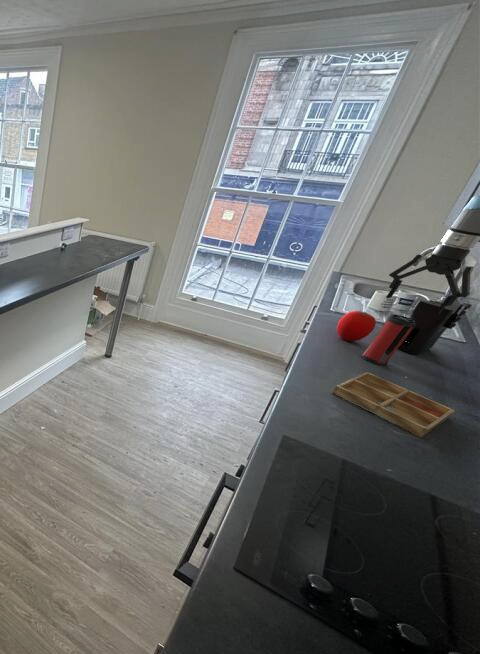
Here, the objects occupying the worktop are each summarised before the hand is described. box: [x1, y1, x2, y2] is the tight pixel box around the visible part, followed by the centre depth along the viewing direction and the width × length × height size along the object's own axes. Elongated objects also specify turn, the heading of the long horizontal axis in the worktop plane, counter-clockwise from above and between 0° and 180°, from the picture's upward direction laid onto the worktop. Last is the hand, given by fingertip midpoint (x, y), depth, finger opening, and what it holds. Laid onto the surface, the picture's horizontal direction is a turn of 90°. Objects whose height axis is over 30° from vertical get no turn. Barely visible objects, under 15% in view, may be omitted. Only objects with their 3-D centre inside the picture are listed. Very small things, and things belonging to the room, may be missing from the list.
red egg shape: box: [336, 310, 377, 342], centre depth 165 cm, size 11×11×13 cm
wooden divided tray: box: [331, 371, 456, 439], centre depth 126 cm, size 22×22×3 cm
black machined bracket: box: [397, 299, 473, 356], centre depth 161 cm, size 12×21×22 cm, turn 119°
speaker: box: [360, 314, 416, 366], centre depth 149 cm, size 8×8×18 cm
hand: (412, 305), depth 142 cm, fingers open, 13 cm apart
